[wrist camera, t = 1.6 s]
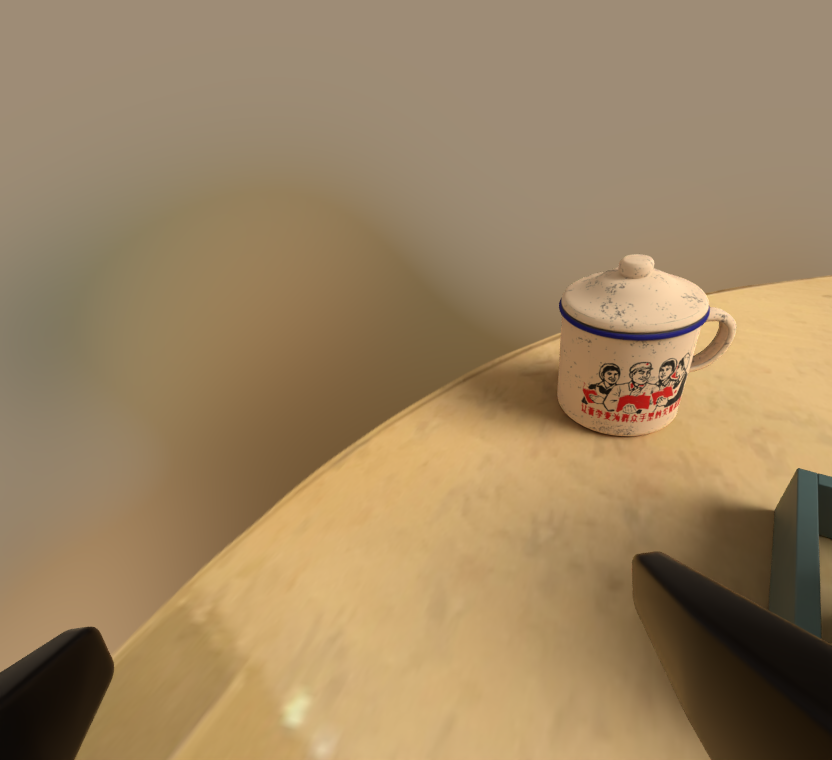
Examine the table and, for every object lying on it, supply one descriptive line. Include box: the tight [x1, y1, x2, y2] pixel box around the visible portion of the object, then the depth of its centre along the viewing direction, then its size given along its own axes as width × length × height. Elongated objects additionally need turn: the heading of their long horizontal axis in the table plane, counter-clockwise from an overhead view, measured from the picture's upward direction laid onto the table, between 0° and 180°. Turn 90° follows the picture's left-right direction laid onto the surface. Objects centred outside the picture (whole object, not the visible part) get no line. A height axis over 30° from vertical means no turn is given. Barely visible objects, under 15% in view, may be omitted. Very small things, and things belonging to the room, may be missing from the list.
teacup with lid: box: [557, 254, 737, 436], centre depth 30 cm, size 12×9×12 cm
